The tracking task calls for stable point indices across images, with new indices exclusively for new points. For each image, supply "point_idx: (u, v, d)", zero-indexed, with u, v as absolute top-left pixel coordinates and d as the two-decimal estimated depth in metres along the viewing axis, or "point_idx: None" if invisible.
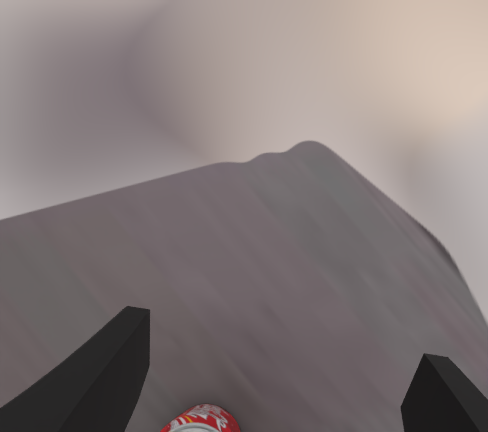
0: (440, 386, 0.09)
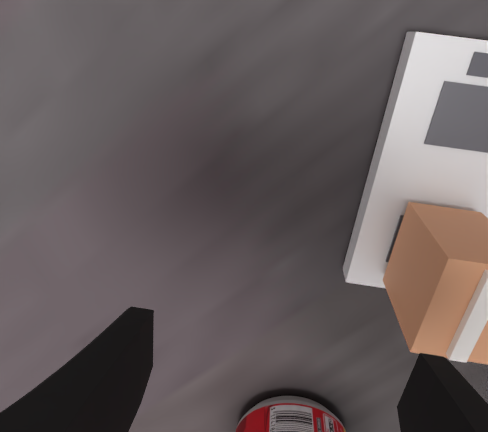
0: (436, 385, 0.09)
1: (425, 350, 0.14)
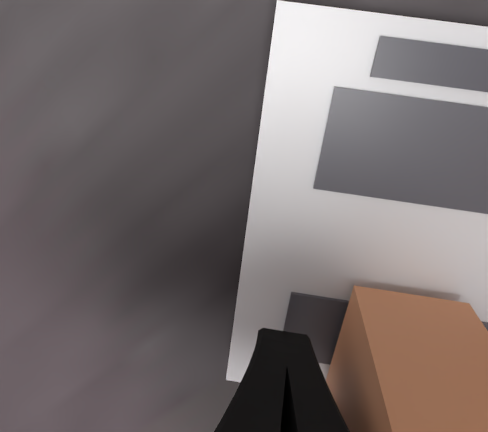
0: (284, 361, 0.09)
1: None
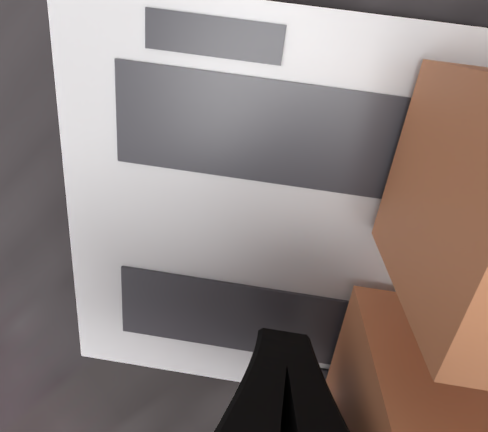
0: (284, 361, 0.09)
1: None
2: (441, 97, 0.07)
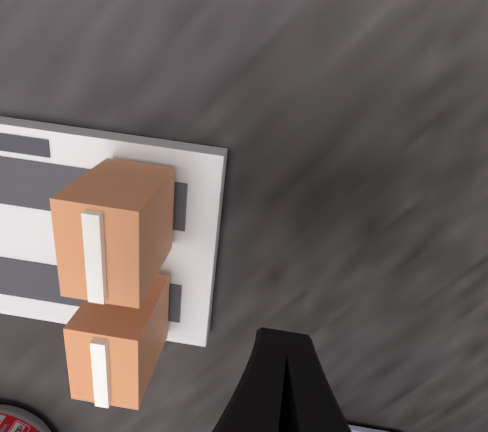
0: (285, 361, 0.09)
1: (81, 397, 0.17)
2: None
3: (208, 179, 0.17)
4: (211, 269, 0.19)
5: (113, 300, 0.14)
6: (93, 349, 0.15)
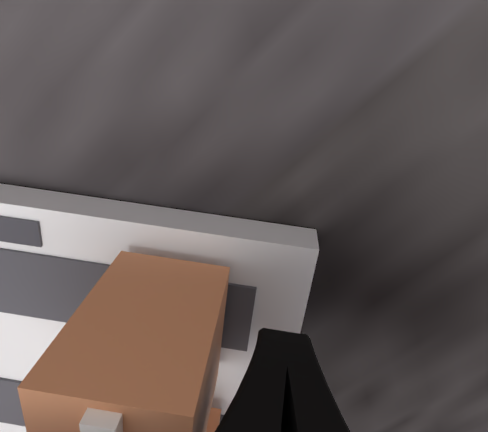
0: (284, 361, 0.09)
1: None
2: None
3: (290, 282, 0.11)
4: None
5: None
6: None
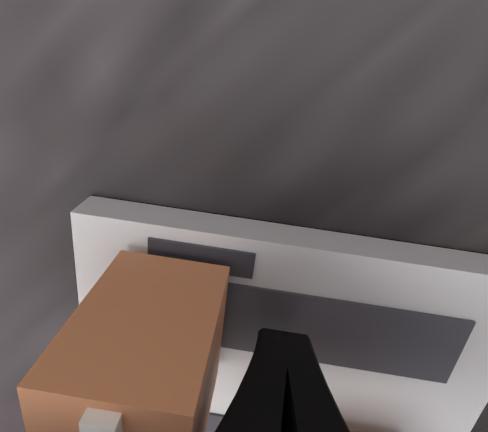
0: (284, 361, 0.09)
1: None
2: None
3: None
4: (468, 430, 0.13)
5: None
6: None
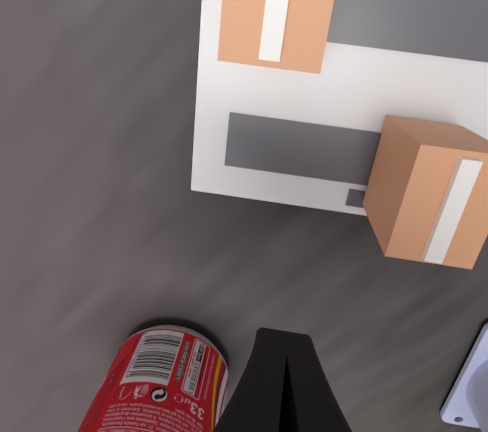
0: (285, 361, 0.09)
1: (400, 253, 0.13)
2: None
3: None
4: None
5: (287, 62, 0.11)
6: (463, 170, 0.12)
